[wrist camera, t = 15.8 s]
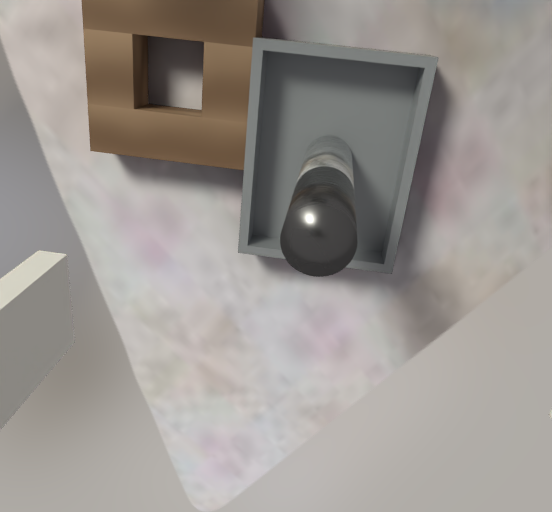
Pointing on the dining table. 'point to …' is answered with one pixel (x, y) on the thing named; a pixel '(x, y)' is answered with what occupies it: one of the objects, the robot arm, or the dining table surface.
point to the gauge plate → (134, 78)
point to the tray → (337, 122)
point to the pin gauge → (322, 211)
